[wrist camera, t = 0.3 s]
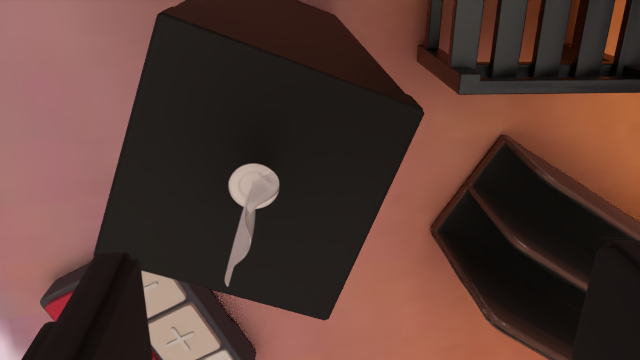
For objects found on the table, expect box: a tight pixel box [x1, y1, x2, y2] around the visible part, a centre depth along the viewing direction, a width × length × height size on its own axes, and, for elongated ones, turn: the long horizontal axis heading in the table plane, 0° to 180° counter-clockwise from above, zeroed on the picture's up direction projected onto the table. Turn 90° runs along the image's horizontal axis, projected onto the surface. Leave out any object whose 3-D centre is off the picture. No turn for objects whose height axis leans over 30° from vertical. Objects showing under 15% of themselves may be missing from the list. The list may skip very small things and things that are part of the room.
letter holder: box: [431, 135, 640, 360], centre depth 40 cm, size 10×20×14 cm, turn 58°
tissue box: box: [94, 0, 424, 320], centre depth 26 cm, size 8×8×28 cm
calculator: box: [40, 263, 256, 360], centre depth 45 cm, size 11×4×15 cm
